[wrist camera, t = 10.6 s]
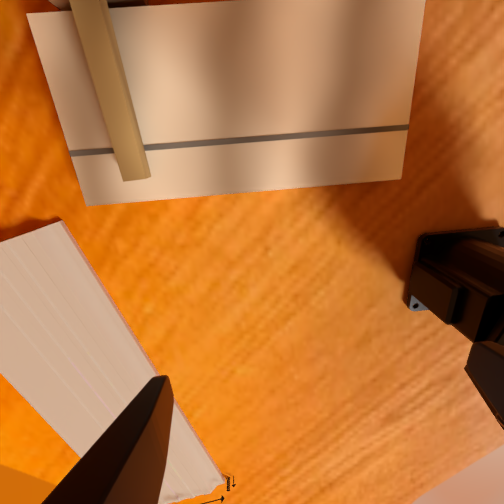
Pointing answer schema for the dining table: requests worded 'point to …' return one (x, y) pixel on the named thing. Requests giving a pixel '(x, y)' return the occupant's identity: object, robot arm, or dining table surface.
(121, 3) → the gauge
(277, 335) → the dining table surface
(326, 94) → the board
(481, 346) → the robot arm
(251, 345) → the dining table surface
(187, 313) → the dining table surface
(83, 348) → the baseboard molding
